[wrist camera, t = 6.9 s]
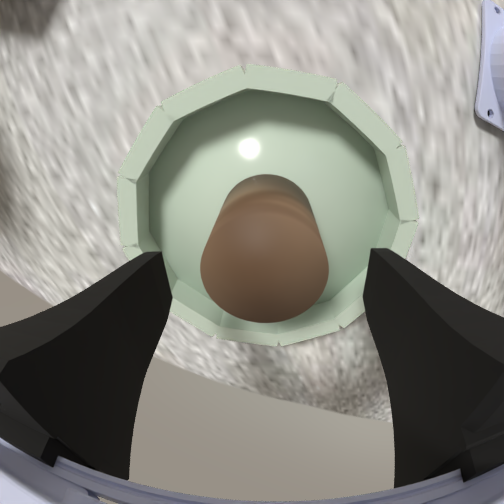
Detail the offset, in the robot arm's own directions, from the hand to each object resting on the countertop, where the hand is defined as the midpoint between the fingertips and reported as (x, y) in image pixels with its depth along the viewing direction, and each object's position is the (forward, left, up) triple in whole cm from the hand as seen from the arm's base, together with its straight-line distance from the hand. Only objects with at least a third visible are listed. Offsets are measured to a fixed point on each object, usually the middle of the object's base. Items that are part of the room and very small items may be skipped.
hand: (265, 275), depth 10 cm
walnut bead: (0, 0, -5) cm, 5 cm away
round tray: (0, 0, -6) cm, 6 cm away
